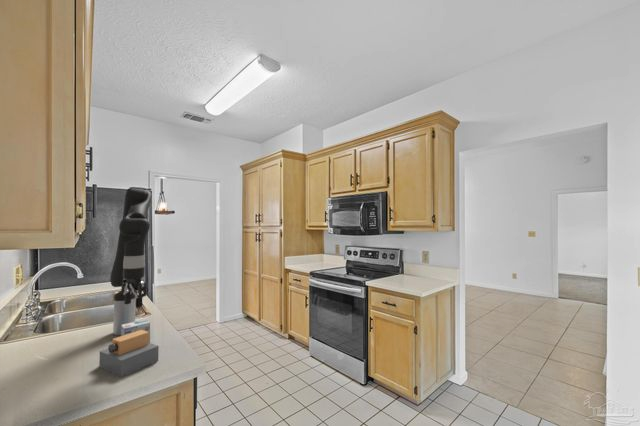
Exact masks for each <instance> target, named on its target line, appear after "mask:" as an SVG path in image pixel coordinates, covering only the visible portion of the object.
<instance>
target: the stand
mask: <svg viewBox="0 0 640 426" xmlns="http://www.w3.org/2000/svg"><path fill="white" fill-rule="evenodd" d="M159 347H160V346H159V345H157V344H154V343H151V342H150V343H149V344H148V345H145V346H143V347H140V348H137V349H134V350H132V351H129V352H126V353H124V354H121V355H119V354H116V353H114V352H112V353H110V352H109V350H108V347H107V348H105V349H102V350H99V364H98V365H99V368H101V369H104V370H106V371H108V372H109V373H113V374H115V375H116V376H119V377H121V378H122V377H124V376H126V375H129V374H131V373H133V372H136V371H138V370H141V369H142V368H145V367H146V366H149V365H151V364H152V365H153V364H154V363H156V362H158V361H159Z"/></svg>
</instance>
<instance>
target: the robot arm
mask: <svg viewBox="0 0 640 426" xmlns="http://www.w3.org/2000/svg"><path fill="white" fill-rule="evenodd" d="M124 196H125V197H124V203H123V214H122V219H121V221H120V223H119V226H118V228H119V229H118V230H119V235H118V241H117V247H116V248H117V249H116V253H115V254H116V255H115V257H114V258H115V259H114V262H113V265H112V269H111V272H110V279H109V280H110V284H111V286H112V287H113V288H119V287H121V290H120V291H118V292H116V293H115V294H114V295H113V331H112V332H113V335H114V336H121V325H122V324H128V323H132V322H136V308H137V309H139V308H142V307H143V298H144V297H146V296H147V282H146V281H142V279H143V278H144V277H145V273H146V272H145V268H146V267H145V266H146V265H145V264H146V263H145V259H146V257H145V247H146V246H145V243H146V239H147V237H148V233H149V230H150V227H151V224H150V221H149V220H148V219H147V212H148V211H149V210H150V207H151V203H152V193H151V192H150V191H149V190H146V189H141V188H140V189H139V188H132V187H128V189H126V191H125V195H124Z"/></svg>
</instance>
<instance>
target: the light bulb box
mask: <svg viewBox="0 0 640 426" xmlns="http://www.w3.org/2000/svg"><path fill="white" fill-rule="evenodd" d="M139 330H144V331H147V332H149V343H151V322H150V321H149V320H148V319H147V318H146V319H142V320H137V321H136V320H135V322H132V323H128V324H122V325H121V335H120V336H123V335H127V334H130V333H133V332H136V331H139Z"/></svg>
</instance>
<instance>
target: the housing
mask: <svg viewBox="0 0 640 426" xmlns="http://www.w3.org/2000/svg"><path fill="white" fill-rule="evenodd" d="M148 344H149V332H147V331H144V330H139V331H136V332H133V333H130V334H127V335H123V336H121V335H119V336H117V337H115V338H112V344H109V345H108V347H107V348H108V350H109V352H110V353H112V352H114V353H116V354H119V355H121V354H124V353H126V352H129V351H132V350H134V349H137V348H140V347H143V346H145V345H148Z"/></svg>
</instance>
